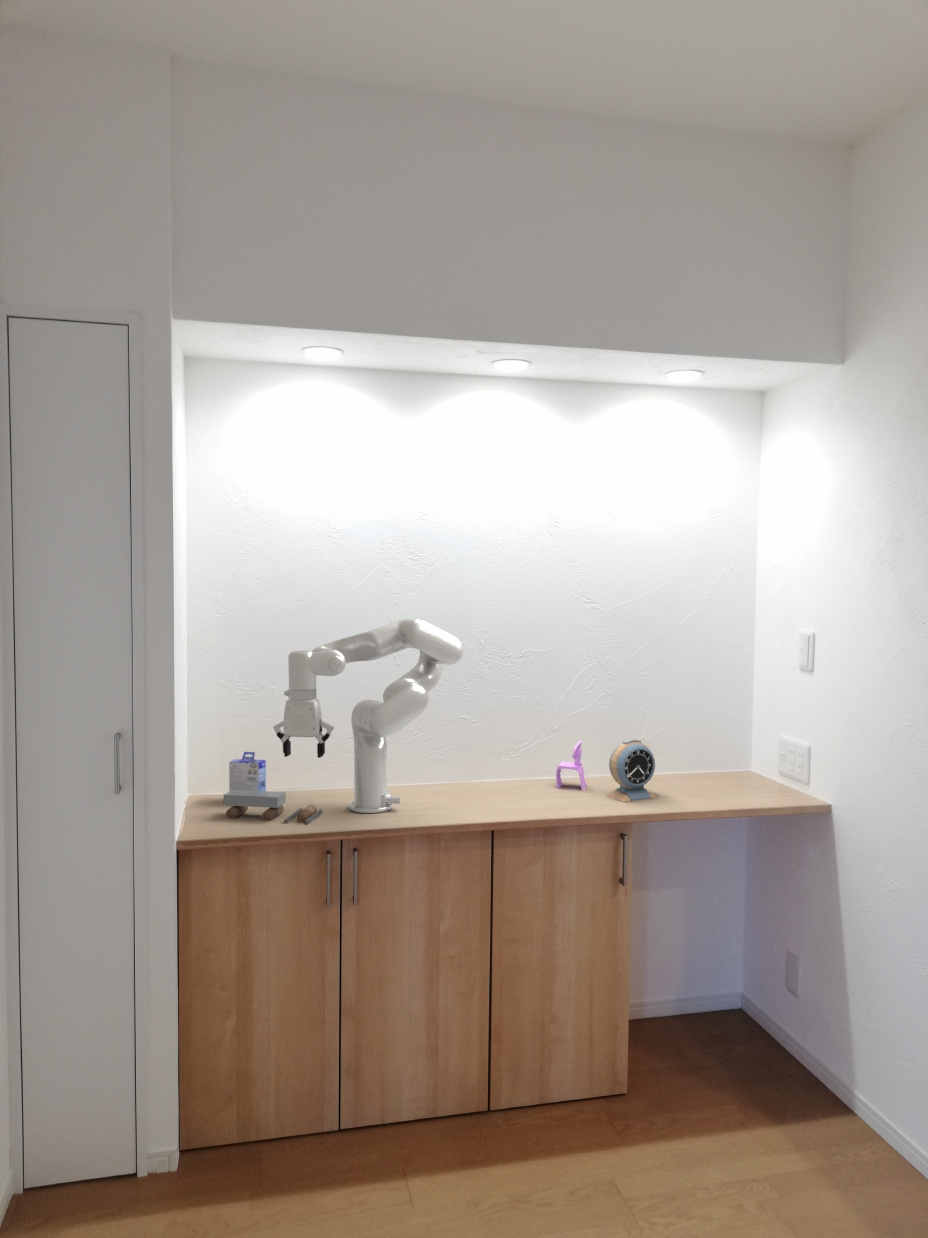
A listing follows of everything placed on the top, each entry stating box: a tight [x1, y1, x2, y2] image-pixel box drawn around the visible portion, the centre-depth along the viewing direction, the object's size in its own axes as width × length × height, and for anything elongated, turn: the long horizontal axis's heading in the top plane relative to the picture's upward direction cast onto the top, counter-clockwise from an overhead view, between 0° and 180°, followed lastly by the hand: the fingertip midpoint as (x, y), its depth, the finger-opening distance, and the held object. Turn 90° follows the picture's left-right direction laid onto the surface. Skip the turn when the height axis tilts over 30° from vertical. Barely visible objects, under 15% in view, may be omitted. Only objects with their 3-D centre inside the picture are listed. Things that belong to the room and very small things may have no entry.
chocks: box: [283, 807, 324, 825], centre depth 246 cm, size 7×12×1 cm, turn 170°
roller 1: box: [225, 806, 249, 819], centre depth 250 cm, size 3×8×3 cm
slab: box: [222, 790, 287, 809], centre depth 248 cm, size 16×6×3 cm, turn 80°
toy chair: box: [555, 740, 587, 791], centre depth 282 cm, size 8×9×15 cm
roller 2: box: [261, 804, 285, 821], centre depth 248 cm, size 3×8×3 cm, turn 169°
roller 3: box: [296, 804, 318, 823], centre depth 246 cm, size 8×3×3 cm
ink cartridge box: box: [228, 751, 267, 792], centre depth 265 cm, size 10×6×14 cm, turn 78°
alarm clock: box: [605, 738, 659, 803], centre depth 269 cm, size 14×10×18 cm
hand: (304, 756), depth 245 cm, fingers open, 9 cm apart
